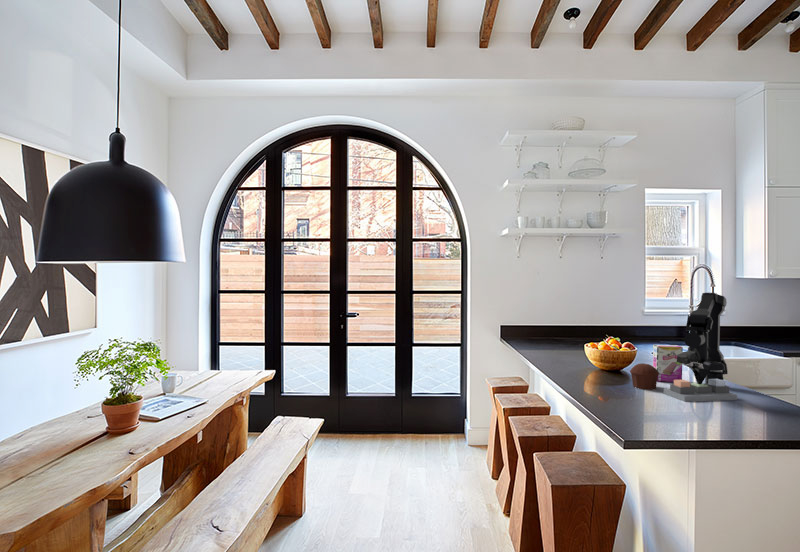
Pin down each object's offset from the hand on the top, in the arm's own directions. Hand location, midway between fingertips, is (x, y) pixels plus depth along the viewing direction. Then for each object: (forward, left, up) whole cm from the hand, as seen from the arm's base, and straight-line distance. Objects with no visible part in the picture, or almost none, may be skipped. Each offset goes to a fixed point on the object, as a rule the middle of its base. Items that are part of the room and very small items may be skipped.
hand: (699, 384), depth 185 cm
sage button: (0, 0, -3) cm, 3 cm away
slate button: (0, +8, -1) cm, 8 cm away
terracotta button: (0, -7, -1) cm, 8 cm away
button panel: (0, 0, -5) cm, 5 cm away
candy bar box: (-27, +6, -5) cm, 28 cm away
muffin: (-17, -12, -5) cm, 21 cm away
